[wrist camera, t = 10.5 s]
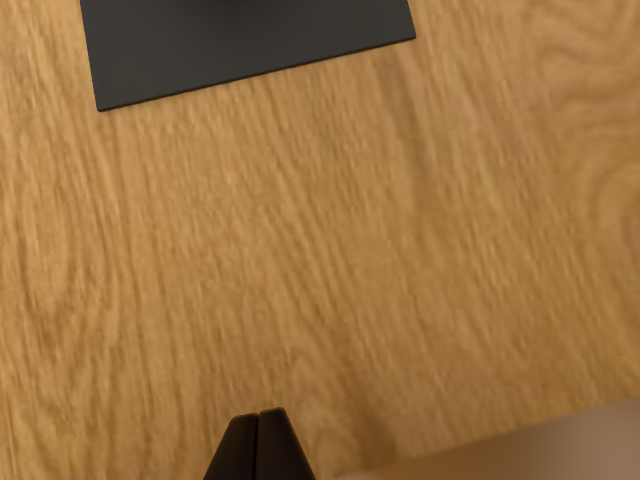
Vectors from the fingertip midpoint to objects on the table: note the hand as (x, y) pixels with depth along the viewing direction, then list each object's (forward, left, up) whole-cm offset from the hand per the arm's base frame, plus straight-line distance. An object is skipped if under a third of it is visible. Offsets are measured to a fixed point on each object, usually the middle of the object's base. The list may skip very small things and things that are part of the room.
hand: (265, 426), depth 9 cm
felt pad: (+14, -10, -12) cm, 20 cm away
